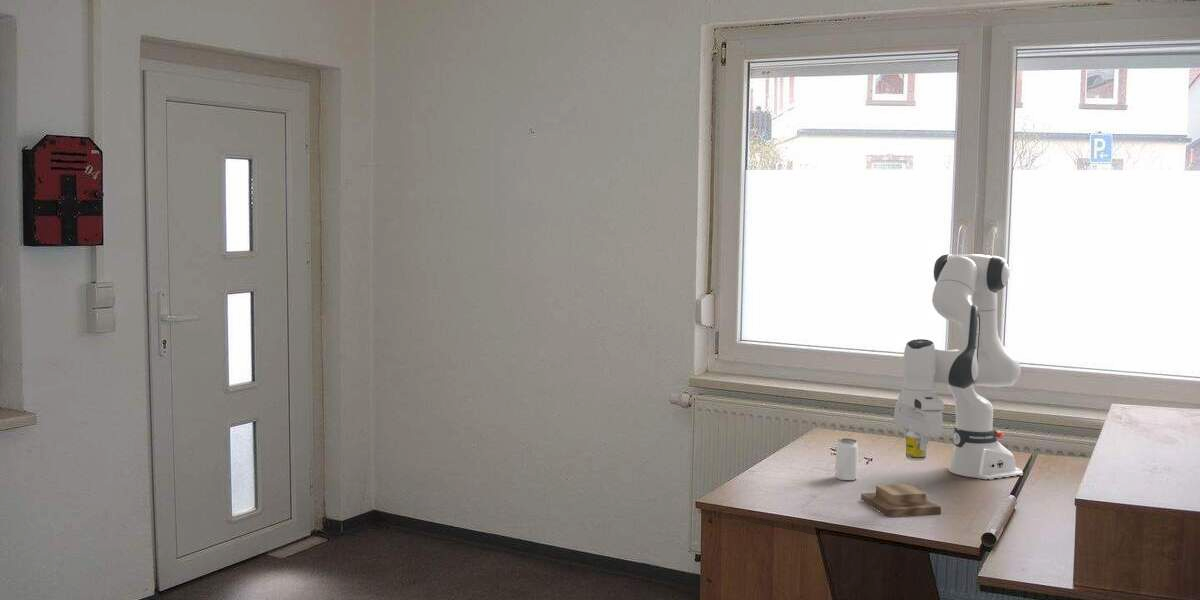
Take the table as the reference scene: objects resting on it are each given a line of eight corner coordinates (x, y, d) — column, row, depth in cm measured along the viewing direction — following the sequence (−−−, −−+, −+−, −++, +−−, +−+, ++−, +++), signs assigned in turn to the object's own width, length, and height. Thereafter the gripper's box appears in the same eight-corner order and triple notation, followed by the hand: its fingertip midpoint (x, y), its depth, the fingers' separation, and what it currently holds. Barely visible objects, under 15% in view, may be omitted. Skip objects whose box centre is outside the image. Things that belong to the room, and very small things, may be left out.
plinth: (912, 497, 303) (912, 480, 302) (940, 513, 287) (941, 495, 287) (860, 500, 300) (861, 483, 299) (886, 516, 284) (887, 498, 283)
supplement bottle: (902, 456, 293) (903, 422, 293) (921, 456, 294) (922, 422, 293) (910, 461, 288) (911, 426, 287) (929, 460, 288) (930, 426, 288)
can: (857, 481, 319) (858, 443, 318) (835, 480, 321) (836, 442, 320) (856, 476, 326) (857, 438, 325) (835, 475, 327) (836, 437, 326)
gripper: (889, 392, 299) (887, 439, 300) (926, 405, 279) (924, 456, 280) (909, 391, 300) (907, 438, 301) (947, 404, 280) (945, 455, 282)
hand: (916, 447), depth 291 cm, fingers closed on supplement bottle, 5 cm apart
